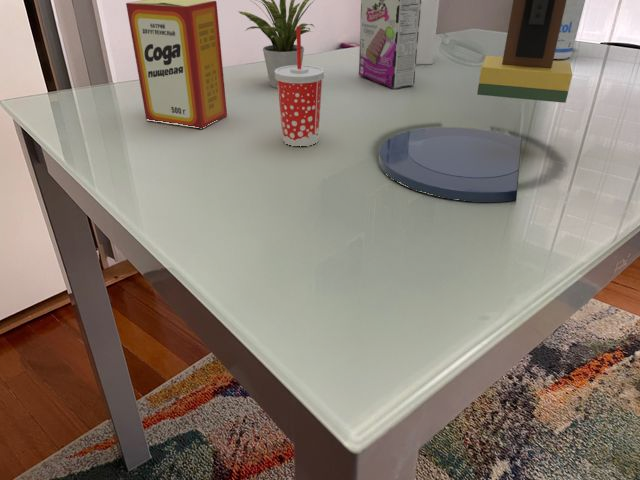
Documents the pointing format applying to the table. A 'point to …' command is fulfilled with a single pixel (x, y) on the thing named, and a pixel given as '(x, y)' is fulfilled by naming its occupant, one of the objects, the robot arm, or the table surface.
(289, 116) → the beverage cup
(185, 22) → the baking soda box
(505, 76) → the sponge
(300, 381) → the table surface
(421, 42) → the milk
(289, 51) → the house plant
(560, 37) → the supplement tub
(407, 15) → the candy bar box
